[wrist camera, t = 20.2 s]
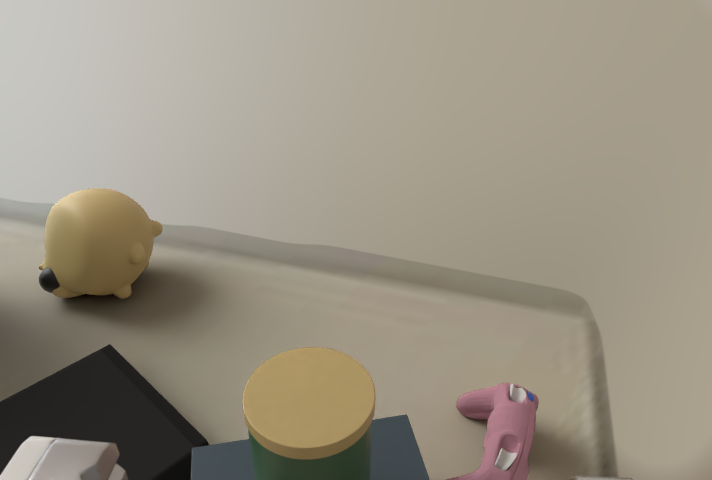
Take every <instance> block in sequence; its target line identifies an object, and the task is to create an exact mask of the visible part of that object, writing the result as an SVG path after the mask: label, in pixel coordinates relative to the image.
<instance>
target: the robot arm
mask: <svg viewBox="0 0 712 480" xmlns="http://www.w3.org/2000/svg"><path fill="white" fill-rule="evenodd" d="M119 456H120V453H119V451H118V449H117V446H116V444H115V443H108V442H96V441H85V440H73V439H61V438H52V437H38V436H31V437H29V438H28V439H27V440H26V441H24V442H23V443H22V444H21V445H20V447H19V448H18V450H17V451H16V453H15V454H14V456H13V457H12V459H11V460H10V462H9V463H8V465H7V466H6V468H5V469H4V471H3V472H2V474H1V475H0V480H128V477H127V474H126V471H125V470H124V469H123V468H122V467H121V466H119V465H118V464H117V463H116V462H117V460H118V458H119ZM570 480H633V479H632V478H617V477H599V476H580V475H574V476H573V477H572V478H571V479H570Z"/></svg>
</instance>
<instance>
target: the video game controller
mask: <svg viewBox="0 0 712 480" xmlns="http://www.w3.org/2000/svg"><path fill="white" fill-rule="evenodd" d="M456 407H457V409H458V411H459V412H460V413H461V414H463V415H464V416H466V417H469V418H473V419H480V420H488V423H487V434H486V436H485V438H484V442H483V448H484V449H485V451H484V455H483V459H482V462H481V465H480V467H479V469H478V470H477V471H475V472H473V473H470V474H467V475H464V476H460V477H456V478H451V479H447V480H527V477H528V474H529V464H528V462H527V460H528V457H529V453H530V449H531V446H532V442H533V436H534V430H535V421H536V411H537V408H538V397H537V396H536V395H535V394H533V393H531V392H530V391H528V390H526V389H525V388H523V387H521V386H518V385H514V384H510V383H502V384H499V385H496V386H493V387H490V388H485V389H479V390H474V391H471V392H467V393H465V394H463V395H462V396H460V397H459V399H458V400H457V403H456Z"/></svg>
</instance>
